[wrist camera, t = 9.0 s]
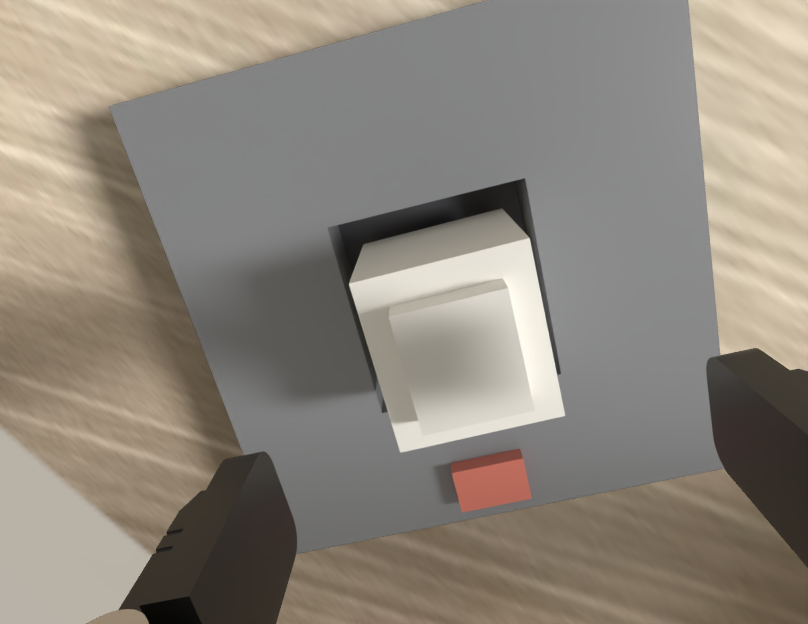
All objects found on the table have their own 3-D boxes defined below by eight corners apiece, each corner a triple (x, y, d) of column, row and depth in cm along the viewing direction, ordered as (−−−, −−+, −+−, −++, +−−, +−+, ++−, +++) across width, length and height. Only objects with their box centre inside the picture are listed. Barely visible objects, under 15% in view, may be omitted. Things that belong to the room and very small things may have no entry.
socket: (646, -33, 18) (693, -61, 15) (696, 429, 23) (739, 477, 20) (146, 107, 19) (98, 106, 16) (295, 512, 24) (279, 568, 21)
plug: (495, 201, 20) (536, 245, 13) (523, 333, 21) (573, 431, 15) (367, 234, 20) (345, 293, 13) (403, 362, 21) (399, 470, 15)
